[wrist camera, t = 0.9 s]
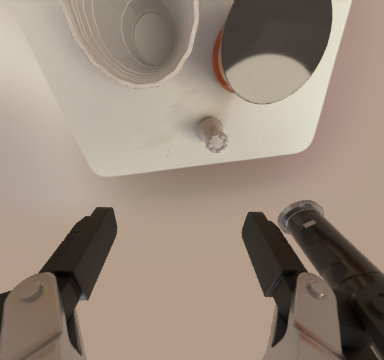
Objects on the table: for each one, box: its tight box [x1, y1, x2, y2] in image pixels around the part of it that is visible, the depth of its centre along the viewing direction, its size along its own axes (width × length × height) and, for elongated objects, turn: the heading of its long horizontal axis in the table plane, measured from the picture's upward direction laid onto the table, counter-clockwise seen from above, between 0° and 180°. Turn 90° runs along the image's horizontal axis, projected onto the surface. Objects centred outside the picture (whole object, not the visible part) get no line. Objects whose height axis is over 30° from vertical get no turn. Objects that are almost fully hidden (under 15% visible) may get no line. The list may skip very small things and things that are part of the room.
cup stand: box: [212, 0, 332, 104], centre depth 20 cm, size 11×11×10 cm
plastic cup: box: [59, 0, 199, 89], centre depth 17 cm, size 11×11×12 cm
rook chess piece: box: [198, 117, 228, 153], centre depth 26 cm, size 4×4×8 cm
